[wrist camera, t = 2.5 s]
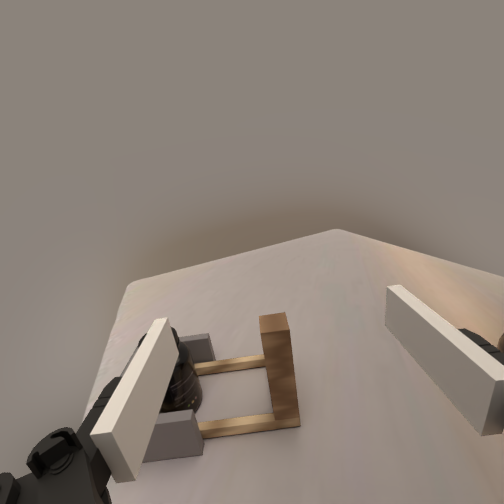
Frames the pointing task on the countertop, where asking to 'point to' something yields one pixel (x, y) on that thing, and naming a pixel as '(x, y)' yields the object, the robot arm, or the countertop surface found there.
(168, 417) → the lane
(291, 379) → the wooden corner frame
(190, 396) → the supplement bottle
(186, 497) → the countertop surface
